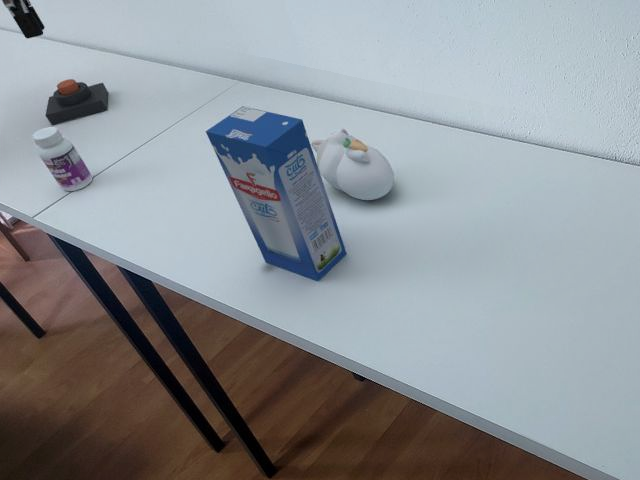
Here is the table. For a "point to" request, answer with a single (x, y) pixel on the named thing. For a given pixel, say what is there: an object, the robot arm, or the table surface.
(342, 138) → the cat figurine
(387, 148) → the table surface
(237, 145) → the milk carton
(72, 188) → the pill bottle
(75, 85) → the lid button
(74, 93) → the black button base
